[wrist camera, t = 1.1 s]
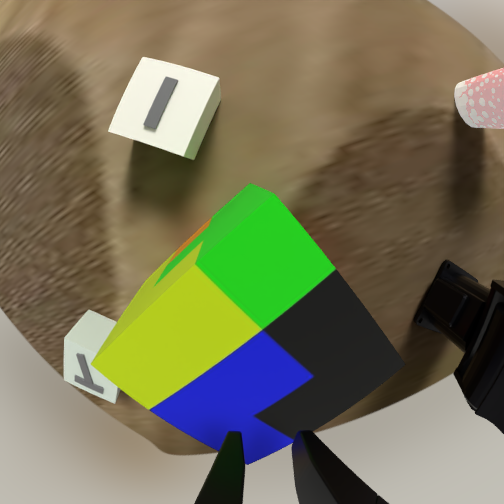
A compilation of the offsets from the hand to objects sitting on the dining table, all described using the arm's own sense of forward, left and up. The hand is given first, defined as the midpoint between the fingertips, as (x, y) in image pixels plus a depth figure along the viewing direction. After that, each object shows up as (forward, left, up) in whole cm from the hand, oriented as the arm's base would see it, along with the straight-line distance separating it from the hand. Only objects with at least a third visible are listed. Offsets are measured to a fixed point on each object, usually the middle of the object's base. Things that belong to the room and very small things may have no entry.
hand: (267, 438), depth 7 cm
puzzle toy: (0, 0, -13) cm, 13 cm away
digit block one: (+9, -9, -13) cm, 18 cm away
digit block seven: (+9, +9, -13) cm, 18 cm away
